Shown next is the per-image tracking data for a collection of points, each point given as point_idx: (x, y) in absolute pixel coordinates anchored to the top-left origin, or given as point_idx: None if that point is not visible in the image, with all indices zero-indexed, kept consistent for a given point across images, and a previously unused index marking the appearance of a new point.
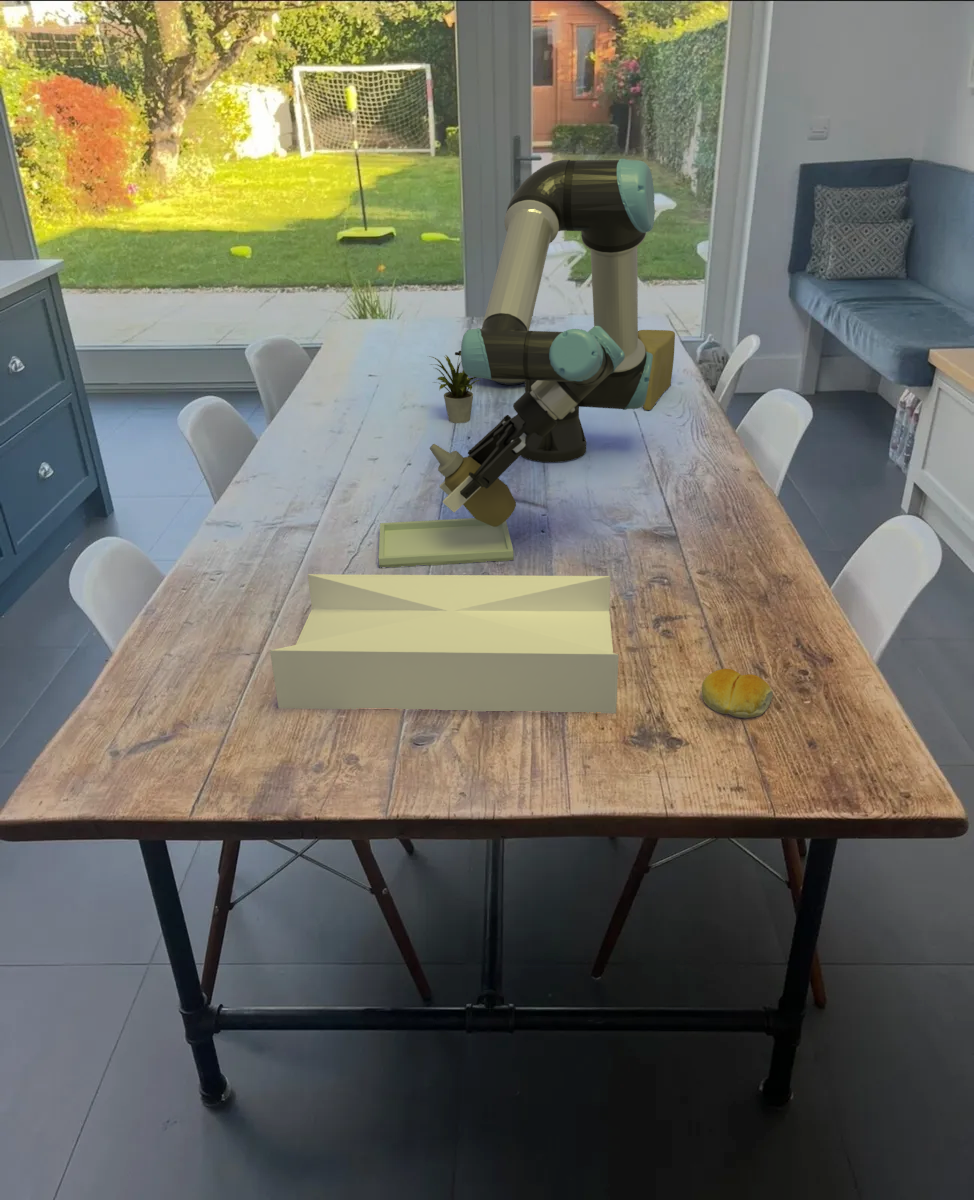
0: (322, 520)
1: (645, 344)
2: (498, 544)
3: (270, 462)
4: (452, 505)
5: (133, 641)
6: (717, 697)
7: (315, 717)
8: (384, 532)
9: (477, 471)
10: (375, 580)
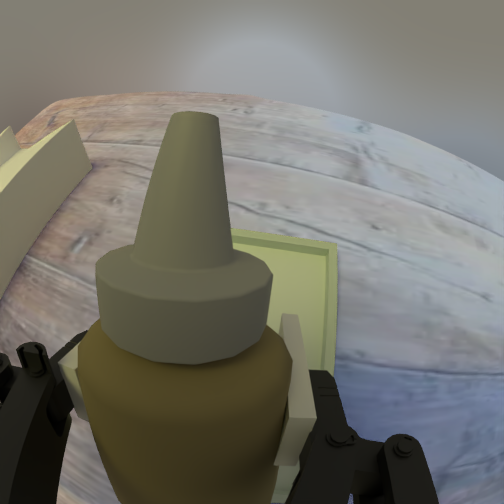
0: (379, 192)
1: None
2: None
3: (498, 185)
4: None
5: (156, 92)
6: None
7: None
8: (305, 249)
9: (28, 387)
10: (13, 169)
